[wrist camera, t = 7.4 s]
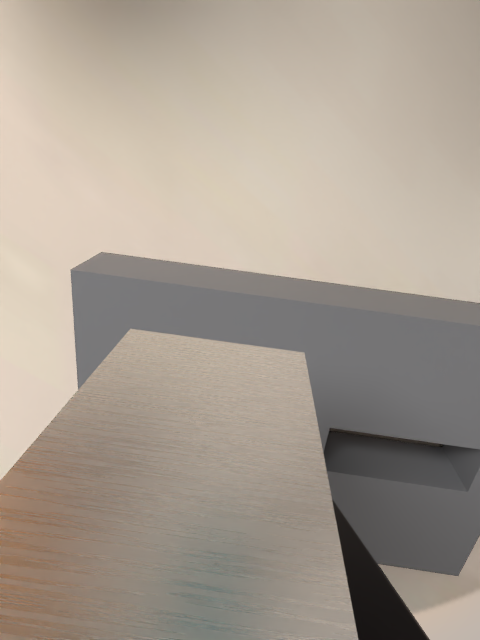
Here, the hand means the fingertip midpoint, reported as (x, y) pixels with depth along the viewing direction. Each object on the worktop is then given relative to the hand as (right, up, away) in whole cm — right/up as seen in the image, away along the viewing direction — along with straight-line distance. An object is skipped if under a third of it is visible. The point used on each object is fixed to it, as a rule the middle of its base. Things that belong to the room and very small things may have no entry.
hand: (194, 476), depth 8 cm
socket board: (+4, -1, +13) cm, 13 cm away
